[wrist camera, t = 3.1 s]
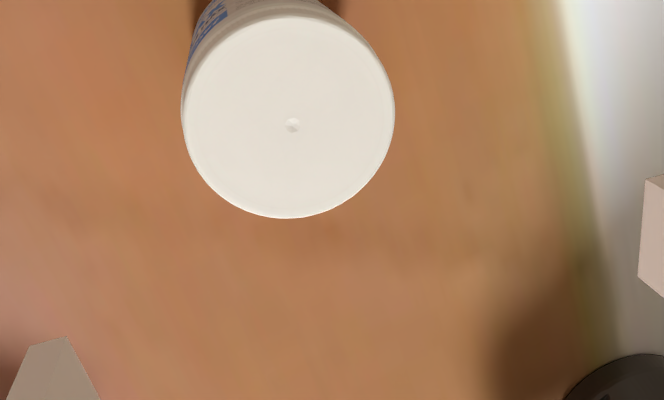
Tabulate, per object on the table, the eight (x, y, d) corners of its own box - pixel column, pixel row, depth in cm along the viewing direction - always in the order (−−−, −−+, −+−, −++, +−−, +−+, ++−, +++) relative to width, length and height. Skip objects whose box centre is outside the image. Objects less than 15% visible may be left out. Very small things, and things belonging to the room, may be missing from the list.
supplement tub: (185, -23, 34) (164, 2, 21) (338, -22, 36) (407, 1, 23) (198, 129, 38) (188, 230, 25) (335, 124, 40) (392, 216, 27)
